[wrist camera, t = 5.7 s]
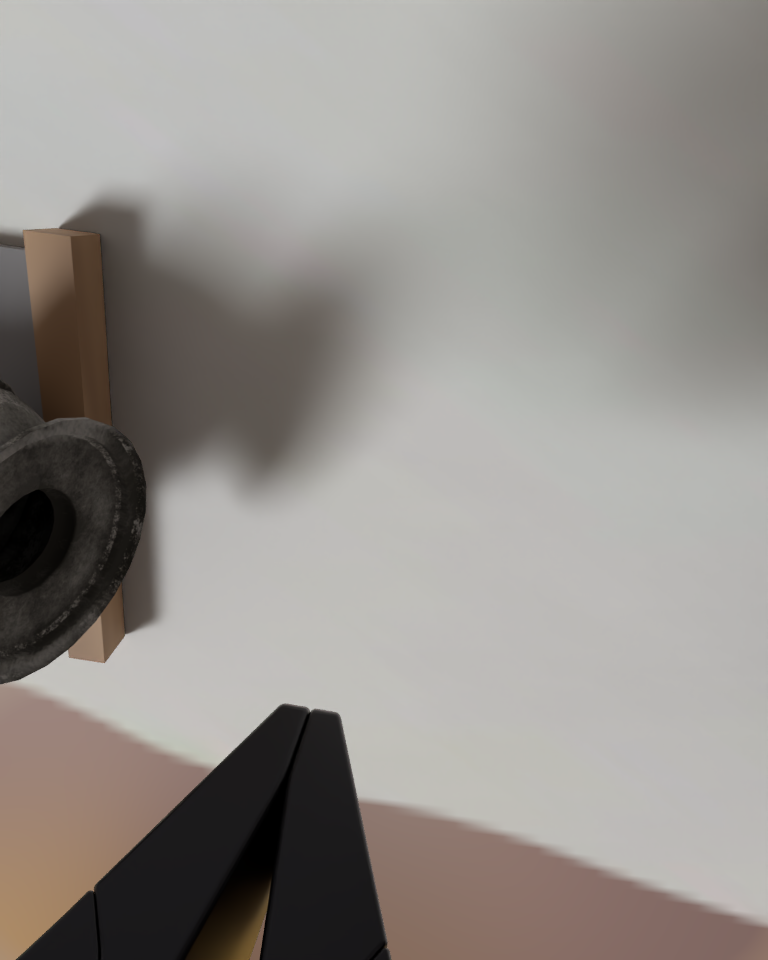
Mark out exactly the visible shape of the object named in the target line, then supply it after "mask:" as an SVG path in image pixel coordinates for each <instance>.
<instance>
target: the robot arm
mask: <svg viewBox="0 0 768 960" xmlns="http://www.w3.org/2000/svg"><path fill="white" fill-rule="evenodd" d="M266 912H267V913H266ZM265 915H266V920H265V928H264V934H263V940H262V948H261V954H260V960H391V955H390V951H389V949H388V948H387V938H386V933H385V928H384V923H383V919H382V914H381V909H380V905H379V899H378V894H377V890H376V885H375V880H374V875H373V871H372V866H371V861H370V856H369V851H368V846H367V841H366V837H365V832H364V827H363V822H362V817H361V813H360V808H359V803H358V798H357V793H356V788H355V784H354V779H353V774H352V769H351V764H350V760H349V755H348V750H347V745H346V740H345V735H344V731H343V726H342V721H341V717H340V715H339V714H338V713H336V712H332V711H326V710H320V709H313V710H312V711H311V712H310V710H309V709H308V708H307V707H303V706H297V705H291V704H282V705H280V706H279V707H278V708H277V709H276V710H275V711H274V712H273V713H271V714H270V715H269V716H268V717H267V718H266V719H265V720H264V721H263V722H262V723H261V724H260V725H259V726H258V727H257V728H256V729H255V730H254V731H253V732H252V733H251V734H250V735H249V736H248V737H247V738H246V739H245V740H244V741H243V742H242V743H241V744H240V745H239V746H238V747H237V748H235V749H234V750H233V751H232V752H231V753H230V754H229V755H228V756H227V757H226V758H225V759H224V760H223V761H222V762H221V763H220V764H219V765H218V766H217V767H216V768H215V769H214V770H213V771H212V772H211V773H210V774H209V775H208V776H207V777H206V778H205V779H204V780H203V781H202V782H201V783H199V784H198V785H197V786H196V787H195V788H194V789H193V790H192V791H191V792H190V793H189V794H188V795H187V796H186V797H185V798H184V799H183V800H182V801H181V802H180V803H179V804H178V805H177V806H176V807H175V808H174V809H173V810H172V811H171V812H170V813H169V814H168V815H167V816H166V817H165V818H164V819H162V820H161V821H160V822H159V823H158V824H157V825H156V826H155V827H154V828H153V829H152V830H151V831H150V832H149V833H148V834H147V835H146V836H145V837H144V838H143V839H142V840H141V841H140V842H139V843H138V844H137V845H136V846H135V847H134V848H133V849H132V850H131V851H130V852H129V853H128V854H127V855H125V856H124V858H122V859H121V860H120V861H119V862H118V863H117V864H116V865H115V866H114V867H113V868H112V869H111V870H110V871H109V872H108V873H107V874H106V875H105V876H104V877H103V878H102V879H101V880H100V881H99V882H98V883H97V884H96V885H95V887H94V892H93V891H88V892H87V893H86V894H85V895H84V896H83V897H82V898H81V899H80V900H79V901H78V902H77V903H76V904H75V905H74V906H73V907H72V908H71V909H70V910H69V911H68V912H67V913H65V915H63V917H61V918H60V919H59V920H58V921H57V922H56V923H55V924H54V925H53V926H52V927H51V928H50V929H49V930H47V931H46V932H45V933H44V934H43V935H42V936H41V937H40V938H39V939H38V940H37V941H35V942H34V943H33V944H32V945H31V946H30V947H29V948H28V949H27V950H26V951H25V952H24V953H23V954H21V955H20V956H19V957H18V958H17V959H16V960H250V957H251V954H252V952H253V948H254V946H255V943H256V940H257V937H258V934H259V932H260V929H261V926H262V923H263V920H264V917H265Z"/></svg>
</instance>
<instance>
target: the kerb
mask: <svg viewBox="0 0 768 960" xmlns="http://www.w3.org/2000/svg"><path fill="white" fill-rule="evenodd" d="M23 236H24V245H25V255H26V264H27V273H28V282H29V292H30V301H31V310H32V319H33V329H34V338H35V347H36V356H37V366H38V375H39V384H40V393H41V403H42V412H43V420H44V421H45V422H49V421H51V420H54V419H57V418H80V417H86V418H89V419H92V420H95V421H98V422H101V423H104V424H107V425H110V426H112V420H111V404H110V388H109V372H108V356H107V339H106V323H105V307H104V291H103V275H102V259H101V243H100V234H96V233H88V232H81V231H73V230H66V229H58V228H51V229H34V230H23ZM124 636H125V630H124V613H123V597H122V582H121V584H120V586H119V588H118V590H117V592H116V594H115V595H114V597H113V598H112V600H111V601H110V602H109V604H108V605H107V607H106V608H105V609H104V611H103V612H102V613H101V615H100V616H99V618H98V619H97V620H96V622H95V623H94V624H93V625H92V626H91V627H90V628H89V629H88V630H87V631H86V632H85V633H84V634H83V635H82V637H81V638H80V639H79V640H78V641H77V642H76V643H75V644H74V645H73V646H72V647H70V648H69V649H68V652H69V658H75V659H81V660H88V661H94V662H100V663H105V662H106V661H107V659H108V658H109V656H110V655H111V654H112V652H113V651H114V650H115V648H116V647H117V646H118V644H119V643H120V642H121V640H122V639H123V638H124Z"/></svg>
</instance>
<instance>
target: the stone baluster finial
mask: <svg viewBox="0 0 768 960" xmlns="http://www.w3.org/2000/svg"><path fill="white" fill-rule="evenodd" d="M145 510H146V483H145V478H144V473H143V468H142V463H141V460H140V458H139V456H138V455H137V453H136V451H135V449H134V447H133V445H132V443H131V442H130V441H129V440H128V439H127V438H126V437H125V436H124V435H123V434H121V433H120V432H119V431H118V430H117V429H116V428H115V427H113V426H110V425H107V424H104V423H101V422H98V421H95V420H92V419H89V418H86V417H80V418H57V419H54V420H51V421H49V422H45V421H44V420H43V419H42V418H41V417H40V416H39V415H38V414H37V413H36V412H35V411H34V410H33V409H32V408H31V407H30V406H29V405H27V404H26V403H25V402H24V401H22V400H21V399H20V398H18V396H17V395H16V393H15V392H14V391H13V389H12V388H11V386H10V385H9V384H7V383H6V382H5V381H3V380H2V379H1V378H0V684H4V683H8V682H12V681H16V680H20V679H22V678H24V677H26V676H28V675H29V674H31V673H33V672H35V671H37V670H39V669H41V668H43V667H45V666H47V665H48V664H50V663H51V662H52V661H54V660H55V659H56V658H57V657H59V656H60V655H61V654H63V653H64V652H65V651H66V650H68V649H69V648H70V647H72V646H73V645H74V644H75V643H76V642H77V641H78V640H79V639H80V638H81V637H82V635H83V634H84V633H85V632H86V631H87V630H88V629H89V628H90V627H91V626H92V625H93V624H94V623H95V622H96V620H97V619H98V618H99V616H100V615H101V613H102V612H103V611H104V609H105V608H106V607H107V605H108V604H109V602H110V601H111V600H112V598H113V597H114V595H115V594H116V592H117V590H118V588H119V586H120V584H121V582H122V580H123V579H124V577H125V575H126V573H127V571H128V569H129V567H130V565H131V562H132V559H133V556H134V554H135V551H136V548H137V546H138V543H139V540H140V536H141V531H142V526H143V521H144V516H145Z"/></svg>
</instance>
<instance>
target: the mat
mask: <svg viewBox="0 0 768 960" xmlns="http://www.w3.org/2000/svg"><path fill="white" fill-rule="evenodd" d="M0 378H1V379H2V380H3V381H5V382H6V383H7V384H9V385H10V386H11V388H12V389H13V391H14V392H15V393H16V395H17V396H18V398H20V399H21V400H22V401H24V402H25V403H26V404H27V405H29V406H30V407H31V408H32V409H33V410H34V411H35V412H36V413H37V414H38V415H39V416H40V417H41V418H42V419H43V412H42V403H41V393H40V384H39V375H38V366H37V356H36V347H35V338H34V329H33V319H32V310H31V301H30V292H29V282H28V273H27V264H26V255H25V248H24V247H17V246H9V245H2V244H0Z"/></svg>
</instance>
